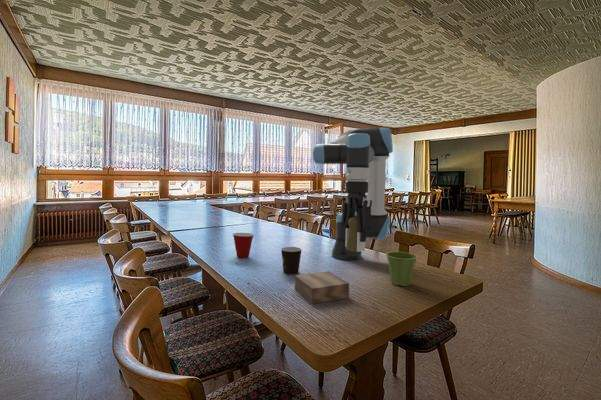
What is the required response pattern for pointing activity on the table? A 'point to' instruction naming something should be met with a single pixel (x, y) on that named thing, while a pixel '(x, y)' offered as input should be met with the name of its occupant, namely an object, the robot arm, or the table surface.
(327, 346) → the table surface
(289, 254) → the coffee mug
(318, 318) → the table surface
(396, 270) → the plant pot
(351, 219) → the pepper mill
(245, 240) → the plastic cup
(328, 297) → the walnut pedestal
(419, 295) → the table surface
